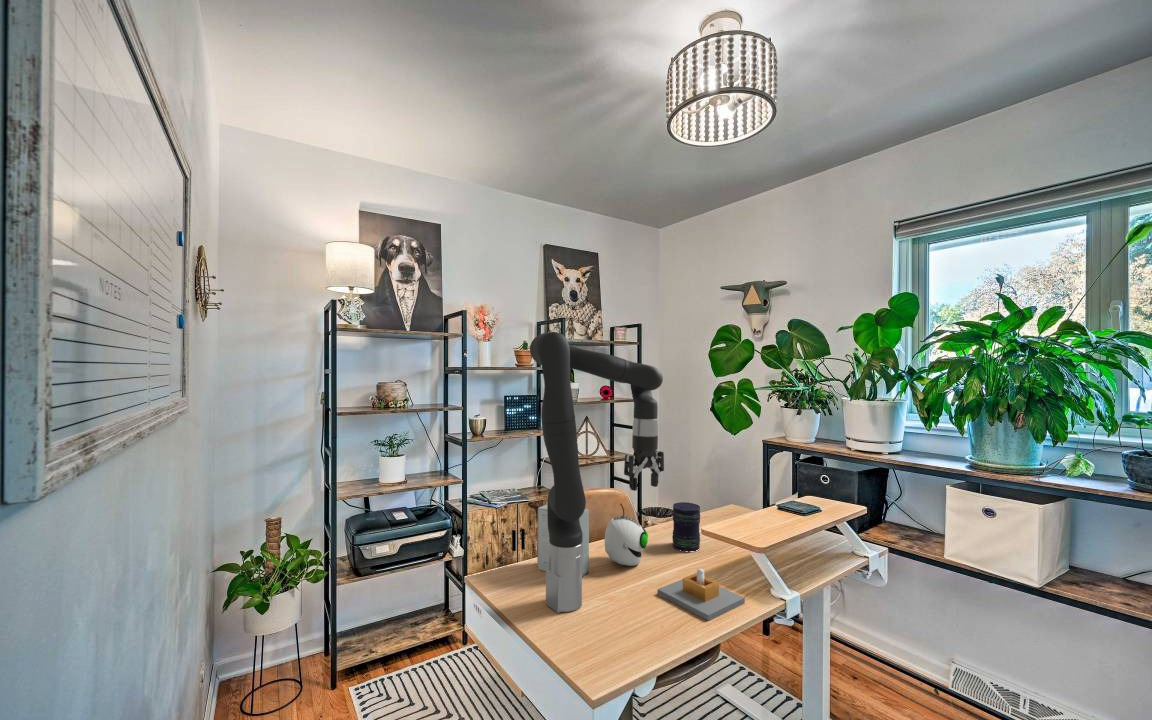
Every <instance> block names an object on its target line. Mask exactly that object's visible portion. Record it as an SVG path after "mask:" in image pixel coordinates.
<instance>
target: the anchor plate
mask: <svg viewBox="0 0 1152 720" xmlns="http://www.w3.org/2000/svg"><path fill="white" fill-rule="evenodd" d="M696 573H697V583H699V584H701V585H704V577H705V571H704V569H702V568H698V569H697V570H696ZM657 595H658V596H660V597H662V598H664V599H666V600H668V601H670V602H672V603H673V604H675V605H677V606H678V607H679V606H680V607H681V608H683V609H685V610H686V611H688V612H691V613H692V614H694V615H696V616H698V617H700V618H702V619H704V620H706V621H708V622H709V621H712V620H713V619H716V618H717V617H720V616H721V615H722V616H723V614H725V613H727V612H729V611H731V610H734V609H736V608H738V607H740V606H742V605H744V604H745V600H746V599H745V596H744V597H743V596H741V595H739V594H738V593H735V592H733V591H731V590H728V589H726V588H725V587H724V588H723V587H722V586H720V585H719V596H717V597H715V598H713V599H711V600H708V601H706V602H704V601H702V600H700V599H698V598H696V597H694V596H692V595H690V594H688V593H686V592H684V591H683V578H682V579H680V580H677V581H675V582H672V583H670V584H667V585H664V586H662V587H659V588H657Z"/></svg>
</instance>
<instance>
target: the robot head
mask: <svg viewBox="0 0 1152 720" xmlns="http://www.w3.org/2000/svg"><path fill="white" fill-rule="evenodd" d="M619 506H620V507H621V508H622V511H623V512H622V515H621V516H615V517H613V518H612V519H610V520H609V521H608V524H607V525H606V529H605V532H604V533H605V534H604V551H605V553H606V554H607V556H608V557H609V558H610V560H611V561H612V562H615V563H616V564H620V565H621V566H629V567H633V566H638V565H639V564H640V563H641V561H642V552H643V551H644V549H645V548H646V547H647V544H648V541H649V540H648V538H649V534H648V531H647V530H646V529H645V527H644V526H642V525H641V524H640V523H638V521H637V520H634V519H633V518H631V517H628V516H626V515H625V507H624V506H623V503H620V504H619Z"/></svg>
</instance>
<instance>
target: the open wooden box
mask: <svg viewBox="0 0 1152 720" xmlns="http://www.w3.org/2000/svg"><path fill="white" fill-rule="evenodd" d="M682 579H683V591H684V592H686V593H688V594H690V595H692V596H694V597H696V598H698V599H700V600H702V601H704V602H706V601H708V600H711V599H713V598H715V597H717V596H719V586H720V583H719V582H718V581H715V580H713V579H710V578H708V577H706V576H704V585H701V584H699V583H697V572H695V573H693V574H690V575H687V576H684V577H682Z"/></svg>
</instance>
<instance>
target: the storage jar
mask: <svg viewBox="0 0 1152 720" xmlns="http://www.w3.org/2000/svg"><path fill="white" fill-rule="evenodd" d="M672 508H673V509H672V522H673V527H672V528H673V530H672V535H671V536H672V548H673V547H674V548H675V549H674V548H673V549H674V550H676V549H678V550H681V551H696V550H698V549H699V548H700V547H701V546H700V545H701V544H700V543H701V532H700V524H701V506H700V505H699V504H697V503H694V502H686V501H685V502H684V501H683V502H676V503H673V504H672ZM678 550H677V551H678ZM699 550H700V549H699ZM699 550H698V551H699ZM681 551H680V552H681ZM696 552H697V551H696Z"/></svg>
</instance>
